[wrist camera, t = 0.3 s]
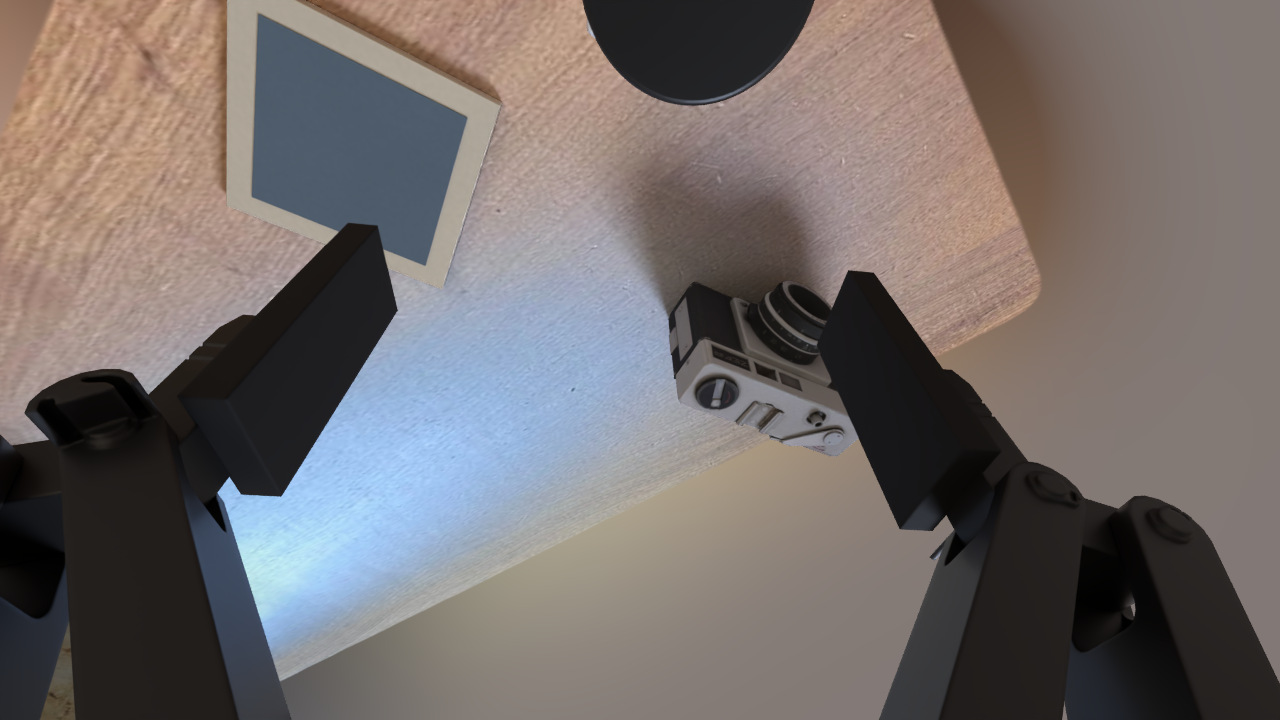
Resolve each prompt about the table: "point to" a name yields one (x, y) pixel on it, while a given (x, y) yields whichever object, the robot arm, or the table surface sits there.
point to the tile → (350, 134)
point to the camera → (760, 364)
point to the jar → (695, 43)
